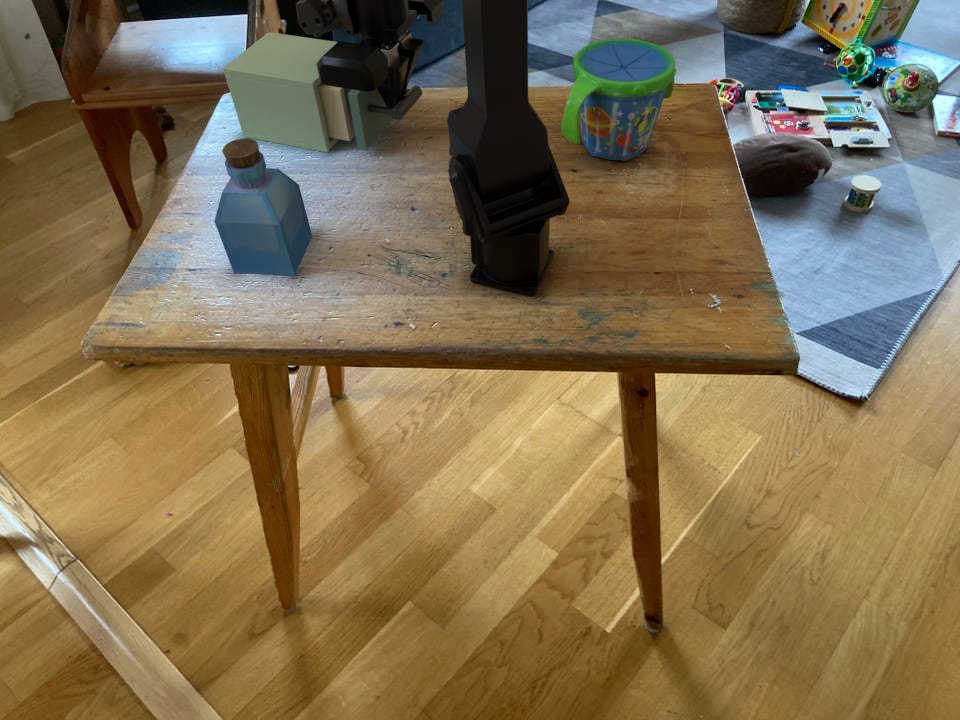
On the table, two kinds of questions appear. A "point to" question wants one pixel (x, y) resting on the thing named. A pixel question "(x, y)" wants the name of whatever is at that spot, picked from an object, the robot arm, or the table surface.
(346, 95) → the drawer
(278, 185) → the perfume bottle
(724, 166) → the table surface
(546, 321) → the table surface
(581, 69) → the snack cup
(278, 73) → the cabinet
